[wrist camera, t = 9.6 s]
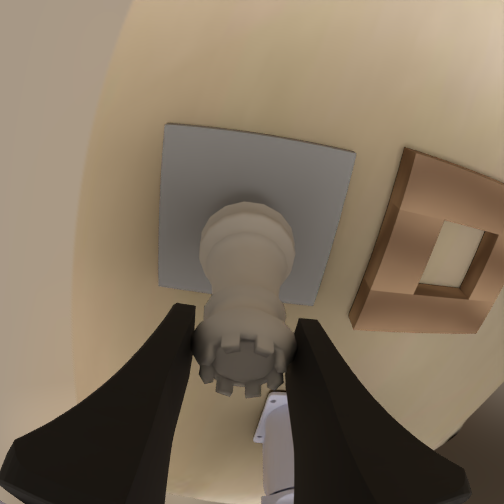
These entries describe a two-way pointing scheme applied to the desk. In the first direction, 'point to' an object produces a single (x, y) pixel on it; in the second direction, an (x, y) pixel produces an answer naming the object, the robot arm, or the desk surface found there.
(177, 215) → the rubber pad
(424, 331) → the pocket holder
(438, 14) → the desk surface
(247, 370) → the rook chess piece
